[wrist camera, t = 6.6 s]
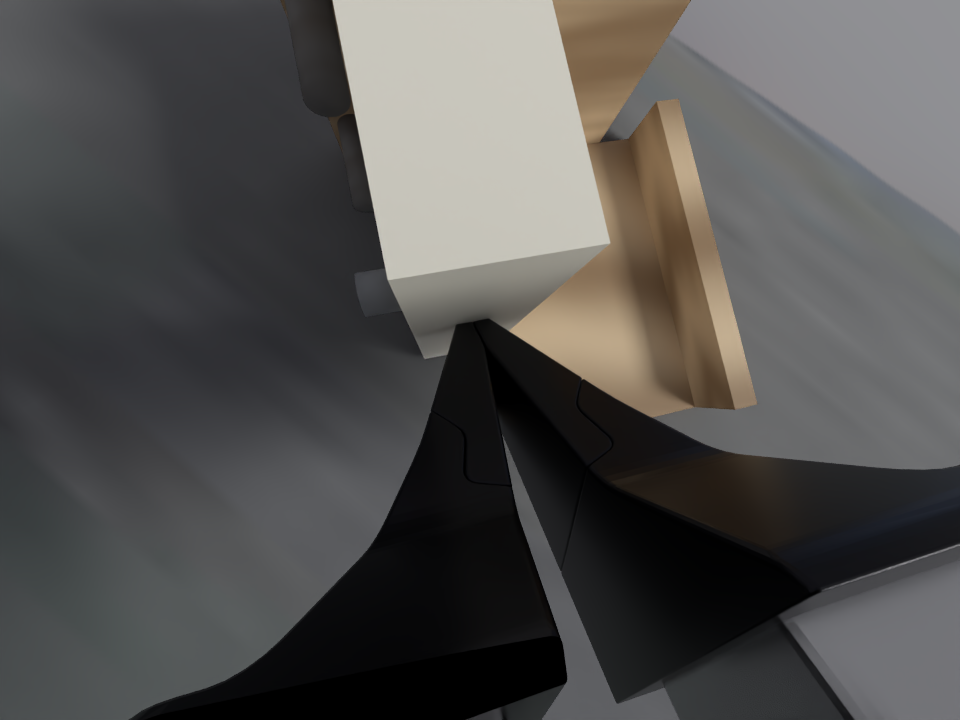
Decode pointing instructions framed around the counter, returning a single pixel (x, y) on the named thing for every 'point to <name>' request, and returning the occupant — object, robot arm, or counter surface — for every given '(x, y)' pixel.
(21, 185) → the counter surface
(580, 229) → the door panel
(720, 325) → the cabinet corner
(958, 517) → the robot arm
